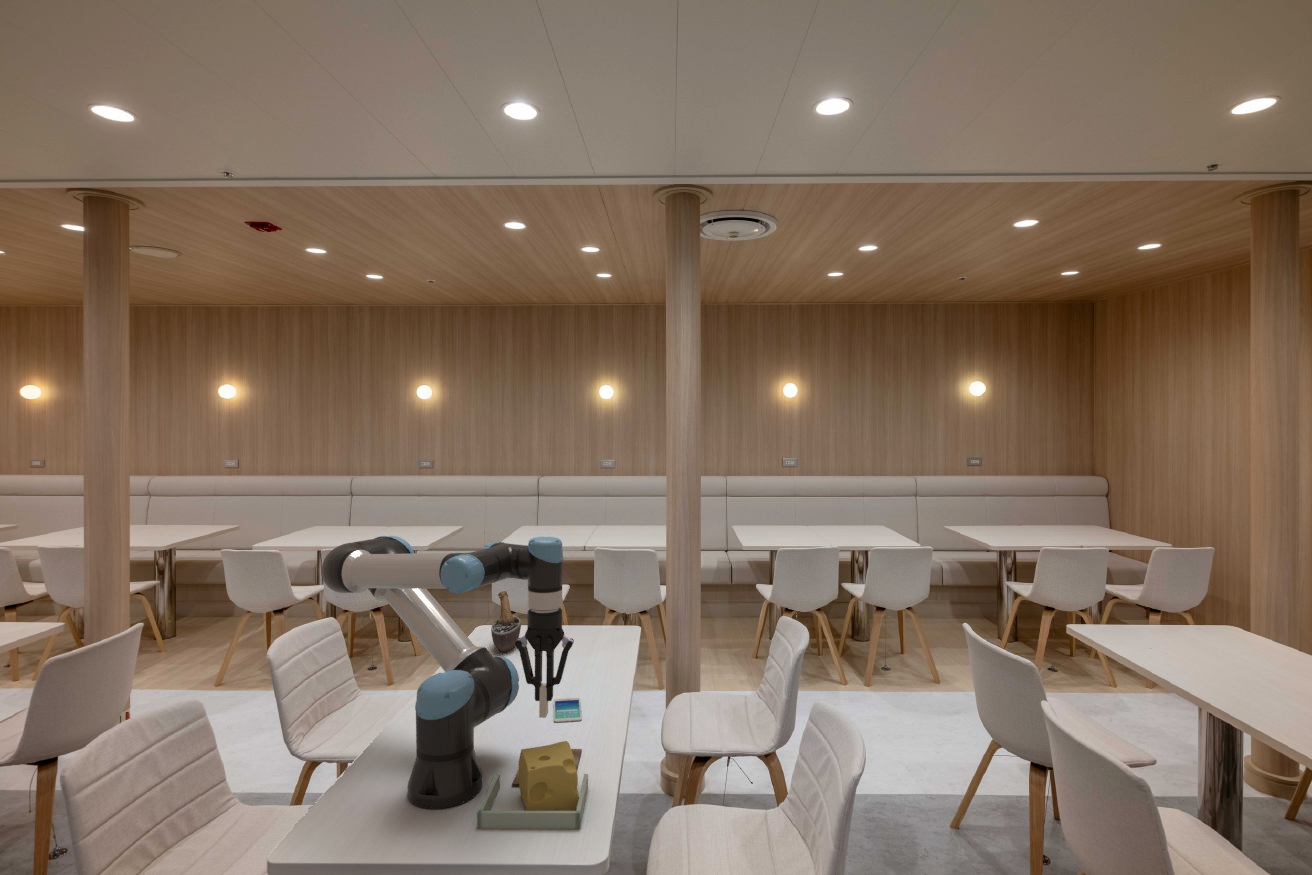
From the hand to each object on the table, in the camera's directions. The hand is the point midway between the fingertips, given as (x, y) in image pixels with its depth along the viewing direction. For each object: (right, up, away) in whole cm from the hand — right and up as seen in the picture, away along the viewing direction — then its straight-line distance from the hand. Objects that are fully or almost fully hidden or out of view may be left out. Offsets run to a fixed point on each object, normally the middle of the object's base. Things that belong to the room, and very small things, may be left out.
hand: (543, 714), depth 149 cm
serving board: (+1, -13, +3) cm, 14 cm away
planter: (-28, -13, +88) cm, 93 cm away
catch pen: (0, -14, -12) cm, 18 cm away
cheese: (+3, -14, -11) cm, 18 cm away
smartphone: (+1, -14, +35) cm, 38 cm away
